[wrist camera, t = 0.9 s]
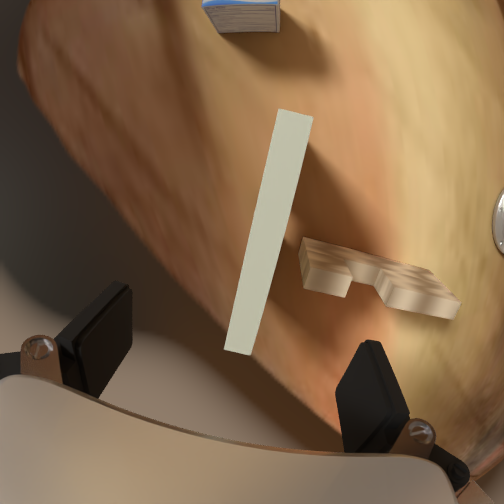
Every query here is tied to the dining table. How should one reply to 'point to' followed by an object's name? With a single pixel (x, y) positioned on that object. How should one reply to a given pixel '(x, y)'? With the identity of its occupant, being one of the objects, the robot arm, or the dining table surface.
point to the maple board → (374, 278)
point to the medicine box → (243, 15)
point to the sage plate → (268, 227)
